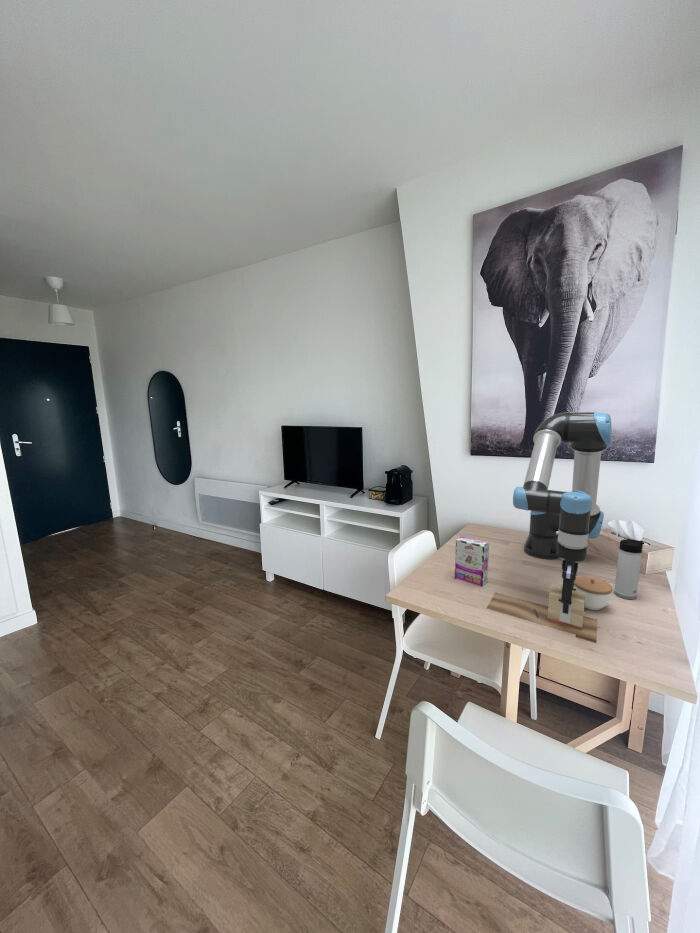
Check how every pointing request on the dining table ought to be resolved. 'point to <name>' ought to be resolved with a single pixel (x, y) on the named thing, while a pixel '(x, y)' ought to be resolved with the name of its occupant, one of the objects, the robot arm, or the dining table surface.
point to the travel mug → (628, 568)
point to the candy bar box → (472, 561)
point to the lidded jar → (593, 591)
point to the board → (540, 615)
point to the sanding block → (576, 608)
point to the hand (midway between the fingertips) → (565, 615)
